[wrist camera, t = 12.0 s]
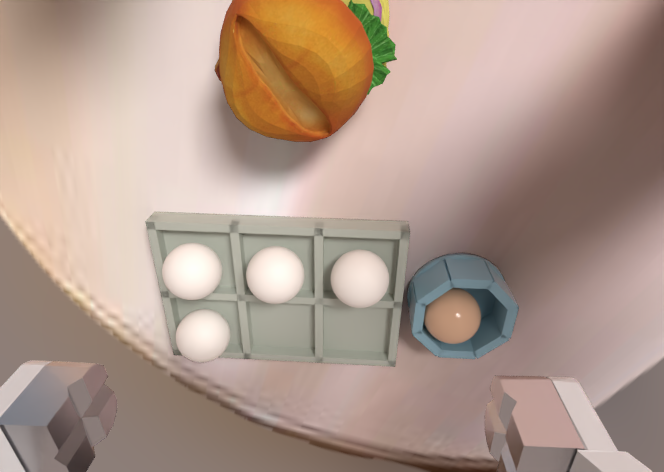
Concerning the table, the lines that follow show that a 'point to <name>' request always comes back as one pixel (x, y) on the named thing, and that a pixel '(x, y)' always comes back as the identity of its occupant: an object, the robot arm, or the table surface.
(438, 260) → the egg cup
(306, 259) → the egg carton
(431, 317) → the brown egg
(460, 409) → the table surface
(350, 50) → the cheeseburger
